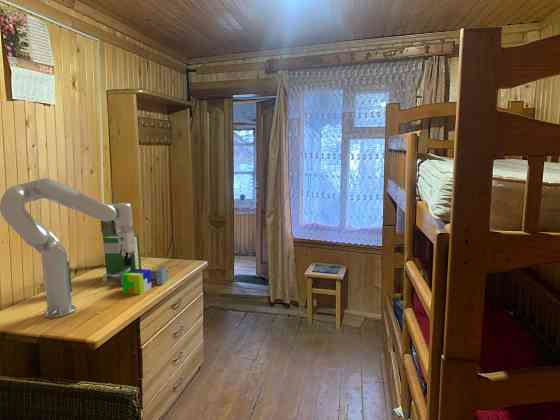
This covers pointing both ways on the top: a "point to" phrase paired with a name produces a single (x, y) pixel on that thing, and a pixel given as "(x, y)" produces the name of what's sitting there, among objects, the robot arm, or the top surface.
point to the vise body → (154, 275)
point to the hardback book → (119, 255)
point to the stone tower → (109, 228)
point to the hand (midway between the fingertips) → (128, 265)
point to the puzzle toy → (136, 281)
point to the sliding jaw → (108, 274)
